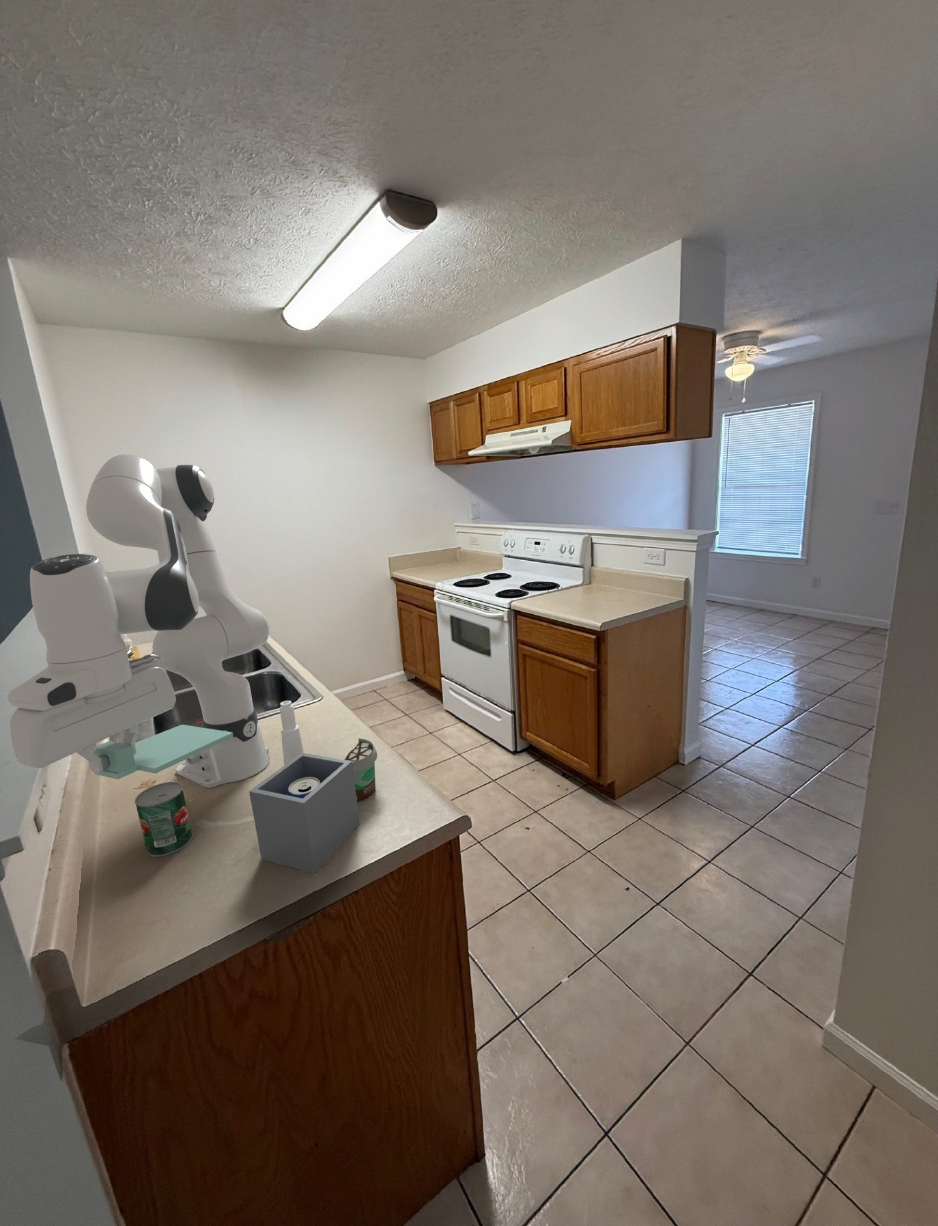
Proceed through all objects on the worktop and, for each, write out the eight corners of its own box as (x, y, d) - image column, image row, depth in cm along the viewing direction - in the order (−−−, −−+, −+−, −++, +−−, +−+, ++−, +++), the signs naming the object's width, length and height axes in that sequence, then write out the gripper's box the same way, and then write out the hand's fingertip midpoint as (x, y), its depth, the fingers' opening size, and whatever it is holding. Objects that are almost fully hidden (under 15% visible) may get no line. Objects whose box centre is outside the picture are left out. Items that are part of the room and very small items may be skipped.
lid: (79, 770, 74) (75, 744, 74) (182, 728, 90) (179, 707, 89) (135, 783, 70) (131, 755, 69) (233, 736, 85) (230, 714, 85)
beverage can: (296, 857, 92) (287, 799, 90) (293, 836, 98) (284, 781, 95) (332, 845, 95) (324, 789, 92) (327, 826, 101) (319, 772, 98)
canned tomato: (140, 846, 98) (128, 795, 95) (183, 824, 104) (173, 777, 101) (155, 863, 93) (143, 810, 90) (199, 839, 99) (189, 790, 96)
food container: (368, 810, 105) (363, 767, 103) (340, 808, 106) (335, 765, 104) (388, 777, 117) (384, 738, 114) (364, 776, 118) (359, 737, 116)
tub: (261, 858, 92) (249, 791, 89) (310, 813, 105) (301, 752, 102) (314, 873, 88) (303, 802, 85) (359, 824, 101) (351, 761, 97)
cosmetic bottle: (304, 803, 109) (290, 709, 103) (280, 801, 110) (264, 707, 105) (319, 787, 114) (306, 697, 109) (295, 785, 116) (281, 696, 111)
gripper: (147, 649, 80) (164, 728, 84) (-9, 699, 62) (21, 798, 65) (175, 651, 78) (192, 733, 81) (21, 704, 60) (51, 807, 63)
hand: (115, 762), depth 73 cm, fingers closed on lid, 3 cm apart
